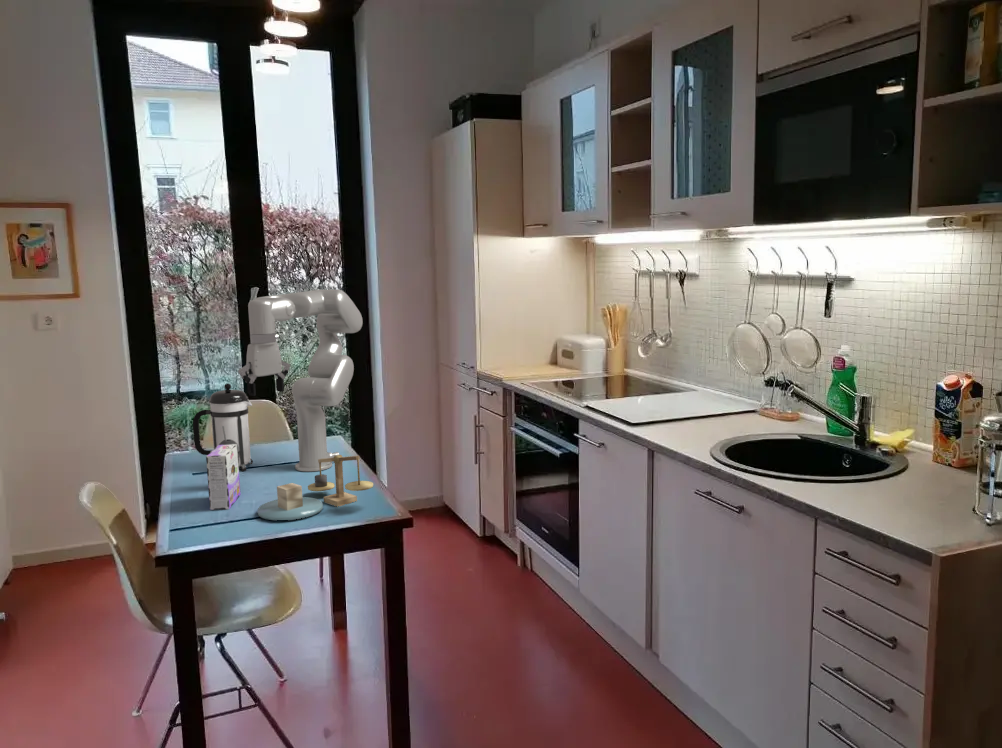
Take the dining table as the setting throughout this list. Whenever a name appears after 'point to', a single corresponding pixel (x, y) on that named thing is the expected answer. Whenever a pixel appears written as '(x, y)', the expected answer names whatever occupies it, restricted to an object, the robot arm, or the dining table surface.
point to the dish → (277, 513)
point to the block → (289, 496)
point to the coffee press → (227, 422)
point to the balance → (339, 482)
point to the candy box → (223, 477)
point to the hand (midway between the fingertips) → (266, 393)
